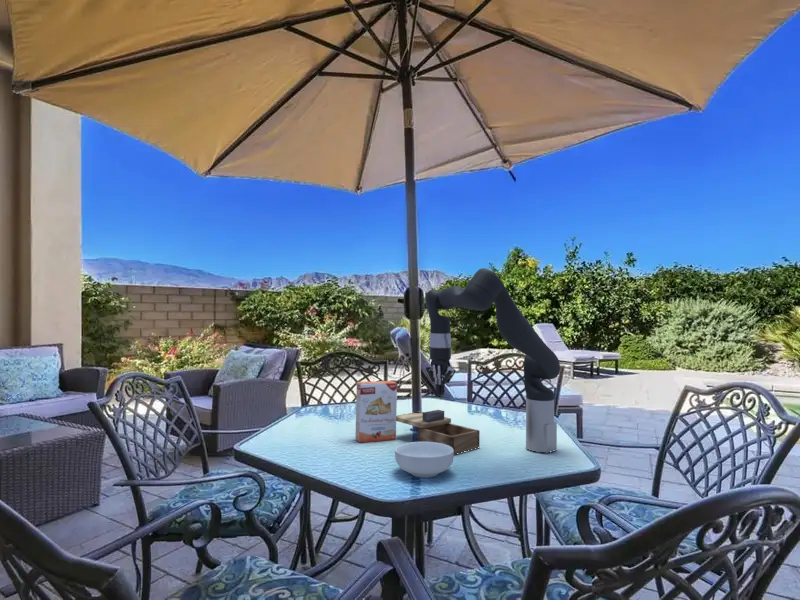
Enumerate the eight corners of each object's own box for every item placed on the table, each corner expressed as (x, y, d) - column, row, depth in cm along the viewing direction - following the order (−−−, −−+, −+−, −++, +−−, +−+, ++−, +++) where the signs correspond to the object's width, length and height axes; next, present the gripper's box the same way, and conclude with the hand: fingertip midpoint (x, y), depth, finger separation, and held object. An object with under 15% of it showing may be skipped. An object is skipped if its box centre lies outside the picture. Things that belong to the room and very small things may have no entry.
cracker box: (359, 443, 166) (360, 383, 166) (355, 439, 171) (355, 381, 172) (396, 440, 171) (397, 382, 171) (391, 436, 176) (392, 380, 177)
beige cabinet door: (450, 422, 172) (451, 410, 172) (423, 428, 162) (423, 415, 163) (420, 415, 184) (420, 403, 184) (393, 420, 175) (393, 408, 175)
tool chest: (479, 448, 161) (479, 430, 162) (451, 456, 152) (451, 437, 152) (445, 438, 173) (445, 422, 174) (417, 445, 164) (417, 427, 164)
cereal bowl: (449, 463, 144) (449, 440, 145) (457, 483, 128) (457, 457, 128) (394, 463, 144) (394, 440, 144) (395, 483, 127) (395, 457, 128)
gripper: (419, 345, 170) (419, 393, 169) (446, 347, 160) (446, 399, 159) (434, 344, 175) (434, 391, 174) (461, 346, 164) (461, 396, 164)
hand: (440, 394), depth 167 cm, fingers closed
